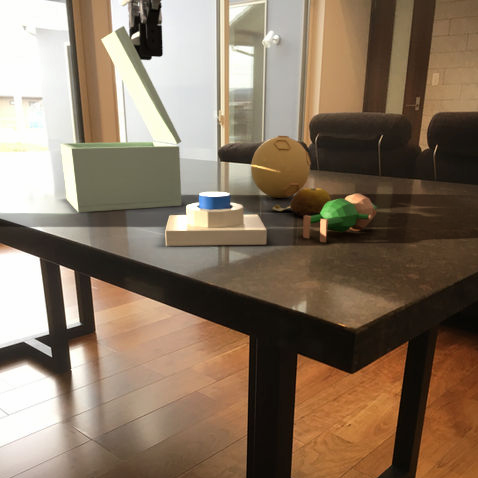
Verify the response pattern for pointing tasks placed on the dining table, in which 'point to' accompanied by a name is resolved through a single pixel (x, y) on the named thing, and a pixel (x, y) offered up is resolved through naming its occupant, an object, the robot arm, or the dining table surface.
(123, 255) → the dining table surface
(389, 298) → the dining table surface
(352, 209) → the figurine
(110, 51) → the lid
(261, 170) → the stress ball
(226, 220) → the control block
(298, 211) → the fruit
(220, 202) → the button
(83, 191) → the compartment
